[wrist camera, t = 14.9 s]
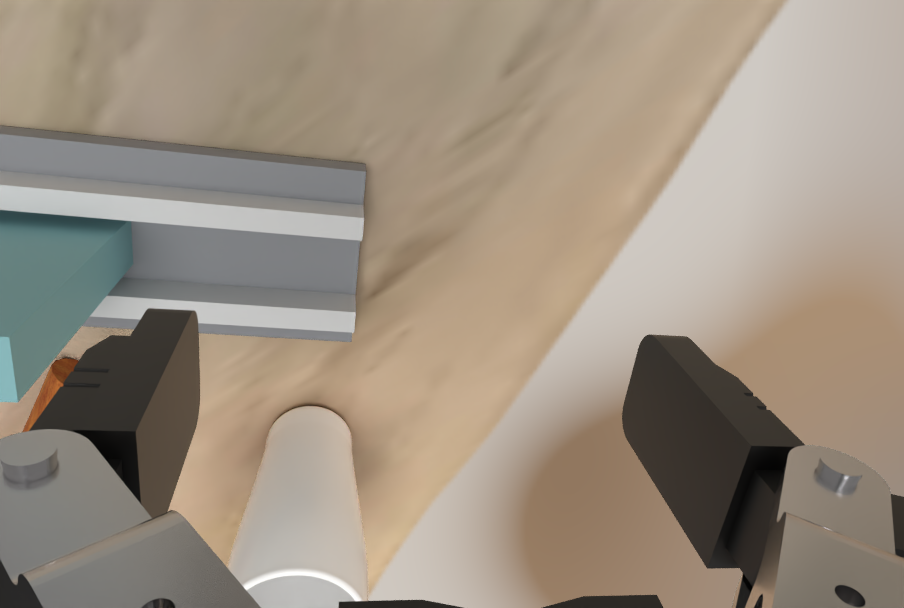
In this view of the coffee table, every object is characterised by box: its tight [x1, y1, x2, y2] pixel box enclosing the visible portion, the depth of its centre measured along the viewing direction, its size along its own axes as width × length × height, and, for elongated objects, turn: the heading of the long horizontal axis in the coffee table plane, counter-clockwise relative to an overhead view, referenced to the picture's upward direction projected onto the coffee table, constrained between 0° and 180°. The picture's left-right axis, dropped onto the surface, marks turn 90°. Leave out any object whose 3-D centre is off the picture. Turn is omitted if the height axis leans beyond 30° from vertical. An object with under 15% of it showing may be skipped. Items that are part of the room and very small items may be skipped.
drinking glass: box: [227, 406, 368, 608], centre depth 38 cm, size 7×7×15 cm
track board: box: [0, 125, 366, 342], centre depth 36 cm, size 10×24×4 cm, turn 82°
